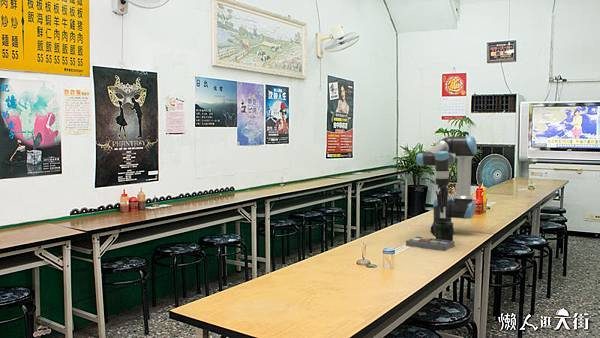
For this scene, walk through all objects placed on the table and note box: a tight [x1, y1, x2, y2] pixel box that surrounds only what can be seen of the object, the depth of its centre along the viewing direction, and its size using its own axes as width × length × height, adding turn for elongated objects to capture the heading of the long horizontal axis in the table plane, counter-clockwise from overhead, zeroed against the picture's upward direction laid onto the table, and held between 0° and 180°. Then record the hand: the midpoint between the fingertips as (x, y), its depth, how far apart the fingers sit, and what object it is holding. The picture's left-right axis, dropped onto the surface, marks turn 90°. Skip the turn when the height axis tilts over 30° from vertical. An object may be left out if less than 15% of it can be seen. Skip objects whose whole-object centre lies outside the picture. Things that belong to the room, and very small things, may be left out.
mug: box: [430, 221, 455, 241], centre depth 321 cm, size 11×15×12 cm
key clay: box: [420, 236, 432, 243], centre depth 309 cm, size 4×4×2 cm
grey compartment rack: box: [405, 236, 455, 252], centre depth 307 cm, size 14×24×4 cm, turn 50°
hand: (442, 217), depth 305 cm, fingers closed
